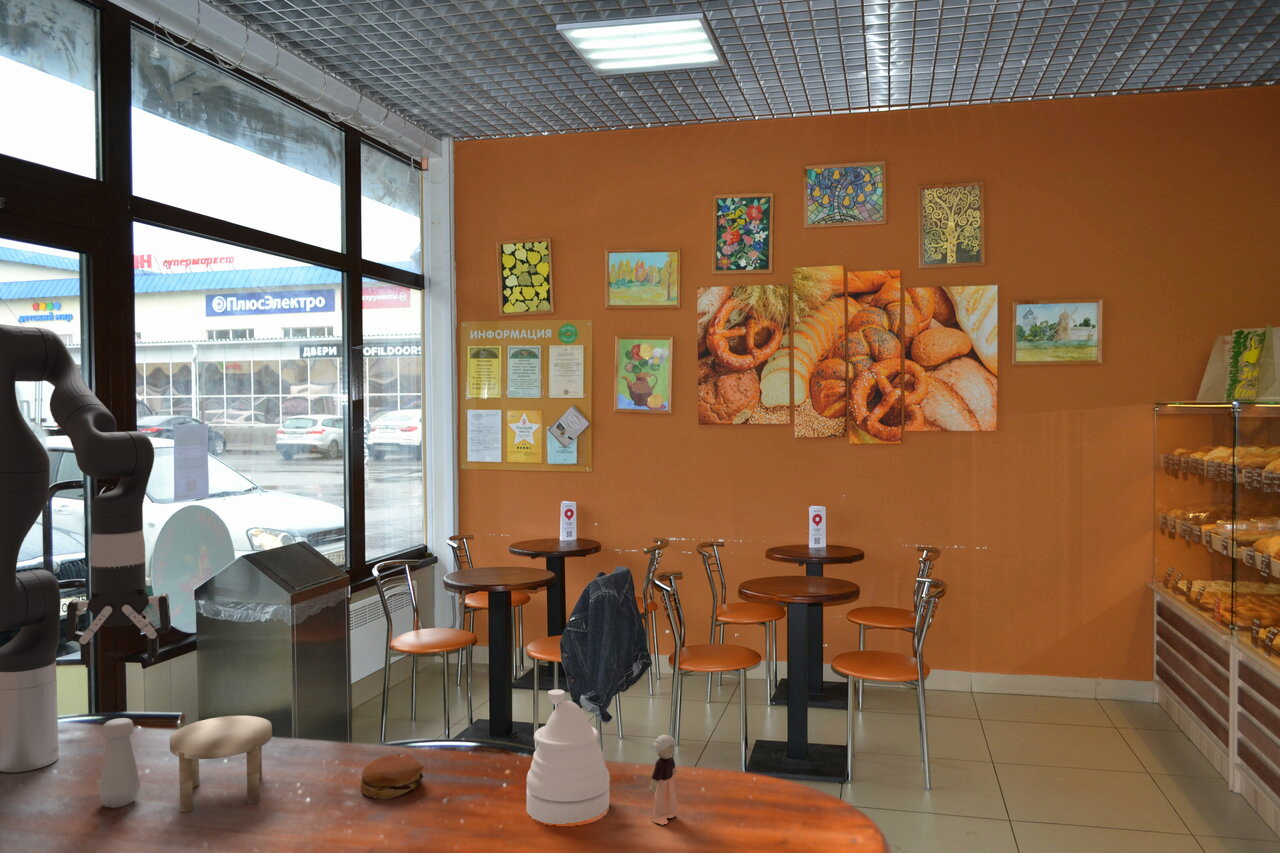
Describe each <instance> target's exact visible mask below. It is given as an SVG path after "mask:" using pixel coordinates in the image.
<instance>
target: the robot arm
mask: <svg viewBox="0 0 1280 853" xmlns="http://www.w3.org/2000/svg"><path fill="white" fill-rule="evenodd" d="M44 381H45V382H48V383H49V384H51V385H52V386H53V387H54V388H53V390H52V393H51V396H50V399H49V400H50V401H49V411H50V415H51V416H52V418H53V420H54V421H55V423H56V424H57V426H58V427H59V428H60V430H62V432H63V433H64V434H65V435H66V436H67V438H69V440H70V443H71V445H72V449H73V451H74V455H75V460H76V464H77V467H78V468H79V470H80V471H81V472H82V473H83V474H84V475H86V476H88V477H90V478H93V479H110V478H112V479H114V478H120V479H119V482H118V483H117V485H116V487H115V488H114V489H112V490H110V491H107V492H105V493H101V494H99V495H96V496H95V497H94V498H93V499H92V500H91V501H92V502H91V506H90V507H91V510H90V512H91V514H90V515H91V516H90V517H91V539H90V547H89V550H90V551H89V553H90V554H89V562H90V563H89V564H90V598H89V599H88V600H78V599H77V598H74V599H71V600H70V601H69V602H68V604H67V605H66V620H65V621H66V623H65V624H66V626H65V640H66V641H67V642H75V643H78V644H79V648H80V650H79V653H80V663H81V665H85V666H84V667H85V669H88V668H90V669H91V668H92V667H93V665H94V650H93V649H94V647H93V646H94V643H93V640H92V637H93V636H94V634H95V633H96V632H97V631H98V630H99V628H100V627H101V626H102V625H103V626H104V627H107V628H113V627H116V626H122V627H127V626H131V625H133V624H135V625H136V627H138V629H140V630H141V631H143V633H144V634H145V635H146V636H147V639H146V646H147V648H146V649H147V650H146V653H147V663H153V662H154V660H155V659H156V658H157V657H158V655H159V653H160V652H159V637H160V636H162V635H164V634H169V632H170V630H171V628H172V622H171V610H170V601H169V600H170V598H169V594H168V593H166V592H163V593H160V594H159V595H152V596H149V595H148V593H147V580H146V579H147V578H146V577H147V575H146V570H147V569H146V544H145V536H144V520H143V518H144V515H143V514H144V510H143V509H144V508H143V506H144V501H145V495H146V492H147V489H148V485H149V484H148V483H149V481H150V477H151V474H152V471H153V468H154V463H155V449H154V445H153V443H152V441H151V439H150V438H149V437H148V436H147V435H146V434H145V433H143V432H141V431H135V430H134V431H117V430H118V424H117V420H116V418H115V416H114V415H113V413H111V411H110V410H109V409H108V408H107V407H106V406H105V405H104V404H103V402H102V401H100V399H99V398H98V397H97V396H96V394H94V392H93V391H92V390H91V388H90V387H89V386H88V384H87V382H86V381H85V379H84V377H83V375H82V373H81V371H80V369H79V366H78V365H77V363H76V362H75V360H74V358H73V356H72V355H71V353H70V351H69V349H68V348H67V345H66V343H65V342H64V341H63V339H62V338H61V337H60V336H59V335H58V333H56V332H55V331H54V330H51V329H48V328H44V327H32V326H31V327H30V326H16V325H14V326H12V325H0V632H1V631H8V630H13V629H17V628H21V629H20V631H19V632H18V633H17V635H16V636H14V637H13V638H12V639H11V640H10V641H8V642H7V643H5V644H4V645H2V646H0V772H1V773H22V772H28V771H29V772H30V771H33V770H37V769H40V768H41V769H42V768H44V767H46V766H49V765H51V764H53V763H55V762H56V761H57V760H59V725H58V724H59V721H58V718H59V717H58V690H57V689H58V686H57V683H58V682H57V652H58V651H57V650H58V648H59V644H60V634H61V633H60V629H61V628H60V627H61V605H62V604H61V600H62V599H61V590H60V586H59V582H58V580H57V578H56V577H55V576H54V574H53V573H52V572H51V571H49V570H46V569H33V570H27V571H21V572H17V565H18V560H19V554H20V550H21V548H22V545H23V543H24V541H25V539H26V537H27V536H28V534H29V533H30V531H31V529H32V527H33V526H34V525H35V523H36V521H37V520H38V518H39V517H40V515H41V514H42V511H43V510H44V508H45V507H46V506H47V502H48V501H49V496H50V481H51V480H50V478H51V477H50V474H51V473H50V472H51V470H50V469H51V465H50V464H51V461H50V457H49V454H48V453H47V450H46V448H45V447H44V445H43V443H42V442H41V441H40V439H39V437H37V435H36V433H35V432H34V431H33V429H32V428H31V427H30V426H29V424H28V423H27V421H26V419H25V418H24V415H23V414H22V412H21V410H20V406H19V404H18V399H17V393H16V392H17V391H16V382H33V383H34V382H36V383H37V382H38V383H39V382H44ZM149 604H151V605H152V606H153V608H154V609H155V610H157V611H158V613H159V623H160V624H159V625H158V626H156V625H155V624H154V623H153V622H152V621H151V619H150V618H149V616H147V614H146V613H145V612H144V611H145V610H146V609H147V607H148V606H149ZM85 609H88V611H89V612H91V614H92V615H93V616H94V618H95V619H94V620H93V621H92V622H91V624H90V625H89V626H88V628H87V629H86V630H85V631H79V616H80V615H82V614H83V613H84V611H85Z"/></svg>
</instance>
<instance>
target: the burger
mask: <svg viewBox="0 0 1280 853" xmlns="http://www.w3.org/2000/svg"><path fill="white" fill-rule="evenodd" d="M424 769H425V766H424V765H423V763H422V762H420V761H418V760H417V759H416V758H415V757H414V756H412V755H411V754H408V753H405V754H403V753H396V754H391V755H384V756H381V757H378V758H376V759H374V760H372V761H370V762H369V763H368V764H367V765H365V767H364V769H363V770H362V772H361V779H360V792H361V793H362V794H363V793H364V795H365V796H366V795H367V796H366V797H368V796H370V797H369V798H371V797H376V798H375V799H379V798H389V799H390V798H391V799H393V798H392V797H395V796H398V797H400V796H399V795H401V796H402V794H403V795H405V794H407V793H408V791H409V792H411V791H412V789H413V790H415V789H416V788H417V787H418V785H419V784H420V783H421V781H422V779H423V778H424V775H423V773H422V772H423V771H424ZM410 790H411V791H410ZM406 792H407V793H406ZM404 793H405V794H404ZM395 798H396V797H395Z"/></svg>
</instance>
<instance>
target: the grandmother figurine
mask: <svg viewBox="0 0 1280 853" xmlns="http://www.w3.org/2000/svg"><path fill="white" fill-rule="evenodd" d="M675 744H676V740H675V738H674V737H673V736H671V735H667V734H661V735H659V736H658V737H657V738H656V739H655V740H654V742H653V743H652V746H653V747H654V750H655V752H656V754H657V755H658V757H659V758H658V759H657V761H655V765H654V770H653V772H652V776H651V780H650V786H649V787H648V791H649V793H651V794H652V793H654V798H653V815H654V816H657V817H661V816H665V815H674V814H676V813H677V812H678V802H677V795H676V790H675V789H676V788H675V782H674V777H673V776H675V775H676V774H677V773H678V772H677V769H676V763H675V760H674V758H673V757H672V756H673V755H674V751H675V749H674V746H675ZM677 814H678V813H677ZM677 814H676V815H677Z"/></svg>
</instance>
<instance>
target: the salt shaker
mask: <svg viewBox="0 0 1280 853" xmlns="http://www.w3.org/2000/svg"><path fill="white" fill-rule="evenodd" d="M134 727H135V726H134V722H133V720H132V719H130V718H127V717H121V718H120V717H119V718H113V719H110V720H108V721H106V722H105V723H104V724H103V725H102V737H103V739H106V745H105V750H104V751H105V752H104V758H103V763H102V768H101V773H100V780H99V784H98V794H99V798H100V799H101V801H102V803H103V806H104V807H106V808H111V809H113V808H114V809H116V808H122V807H126V806H128V805H130V804H132V803H133V802H134V801H136V799H137V795H138V793H139V791H140V789H141V780H140V776H139V771H138V766H137V763H136V758H135V754H134V750H133V746H132V742H131V736H130V735H132V734H133V733H134Z"/></svg>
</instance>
